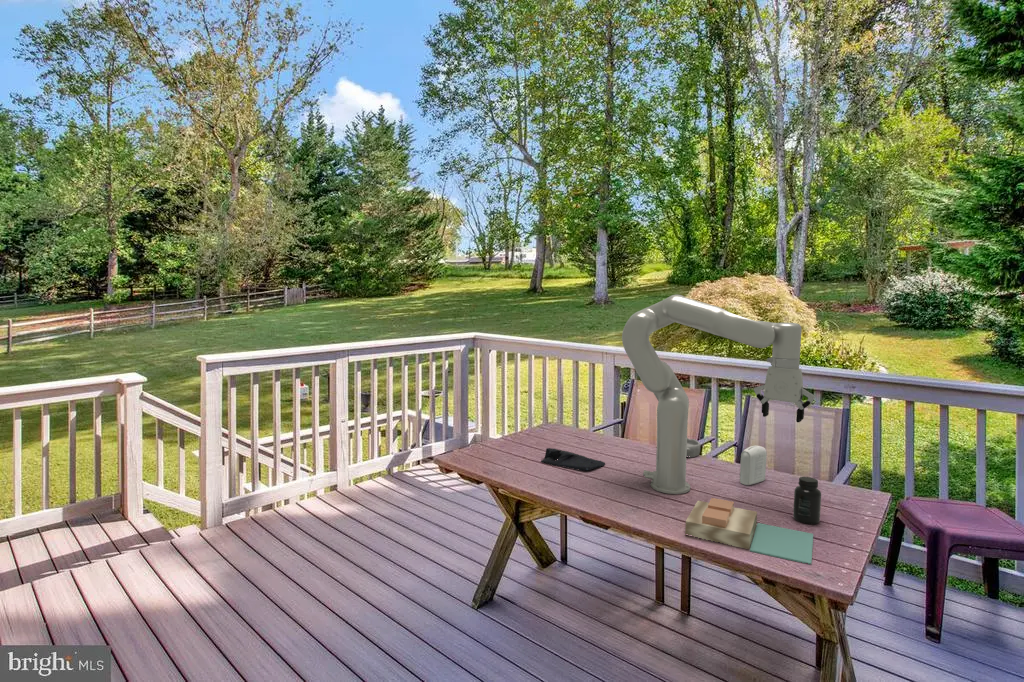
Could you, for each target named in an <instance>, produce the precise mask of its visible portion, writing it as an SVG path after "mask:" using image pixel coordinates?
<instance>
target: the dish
mask: <svg viewBox="0 0 1024 682" xmlns="http://www.w3.org/2000/svg"><path fill="white" fill-rule="evenodd" d="M700 453H701V443H700V442H699V441H698V440H696V439H694V438H689V437H687V456H688V458H694V457H698V456H699V455H700ZM689 456H690V457H689Z"/></svg>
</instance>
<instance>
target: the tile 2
mask: <svg viewBox="0 0 1024 682" xmlns="http://www.w3.org/2000/svg"><path fill="white" fill-rule="evenodd" d="M729 514H730V512H726V511H721V510H716V509H711V508H706V510H705V511H704V513H703V515H702V523H705V524H710V525H714V526H719V527H724V528H726V526H727V524H728V521H729Z"/></svg>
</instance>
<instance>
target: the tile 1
mask: <svg viewBox="0 0 1024 682" xmlns="http://www.w3.org/2000/svg"><path fill="white" fill-rule="evenodd" d="M708 503H709V504H708V508H711V509H716V510H721V511H726V512H730V514H729V516H731V514H732V511H733V509H734V507H735V506H734V505H735V502H734V501H731V500H725V499H720V498H714V497H711V498H710V500H709V501H708Z"/></svg>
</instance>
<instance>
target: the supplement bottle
mask: <svg viewBox="0 0 1024 682" xmlns="http://www.w3.org/2000/svg"><path fill="white" fill-rule="evenodd" d="M798 478H799V479H798V486H796V487H795V488H794V493H793V494H794V495H793V508H792V509H793V511H792V512H793V515H792V517H793V519H794V520H796V521H797V522H799V523H802V524H806V525H817V524H819V523H820V522H821V509H822V508H821V507H822V492H821V490H820V489H819V480H818V479H816V478H814V477H810V476H800V477H798Z"/></svg>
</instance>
